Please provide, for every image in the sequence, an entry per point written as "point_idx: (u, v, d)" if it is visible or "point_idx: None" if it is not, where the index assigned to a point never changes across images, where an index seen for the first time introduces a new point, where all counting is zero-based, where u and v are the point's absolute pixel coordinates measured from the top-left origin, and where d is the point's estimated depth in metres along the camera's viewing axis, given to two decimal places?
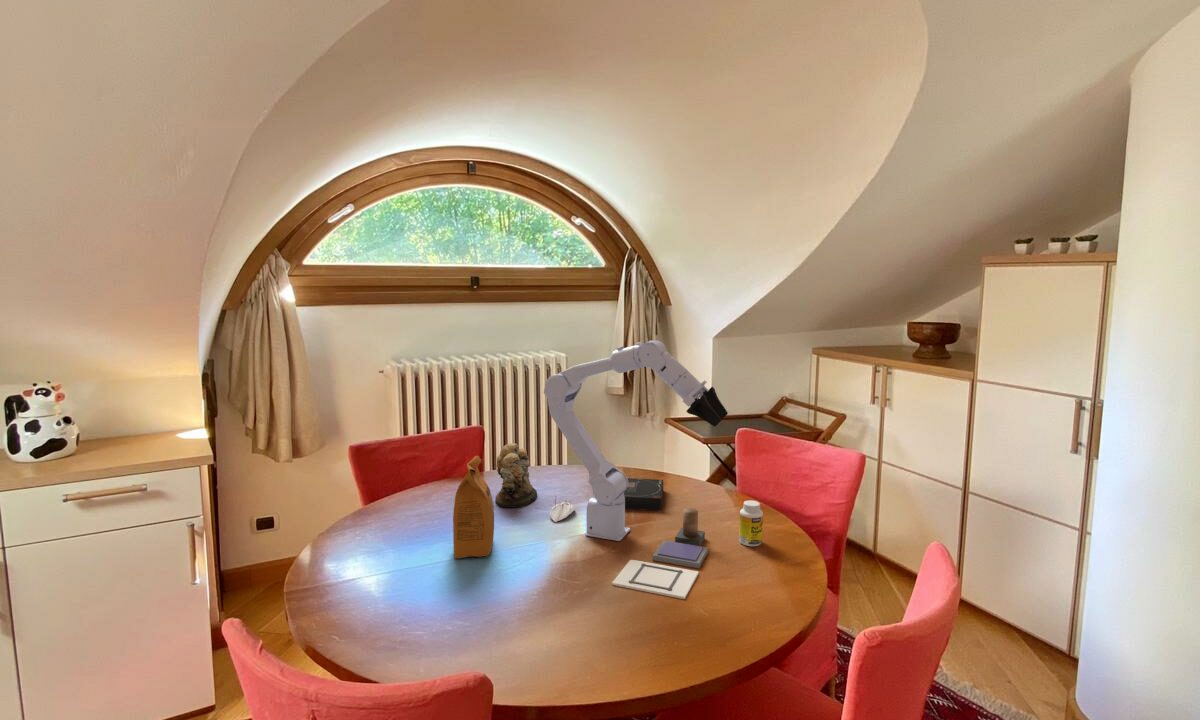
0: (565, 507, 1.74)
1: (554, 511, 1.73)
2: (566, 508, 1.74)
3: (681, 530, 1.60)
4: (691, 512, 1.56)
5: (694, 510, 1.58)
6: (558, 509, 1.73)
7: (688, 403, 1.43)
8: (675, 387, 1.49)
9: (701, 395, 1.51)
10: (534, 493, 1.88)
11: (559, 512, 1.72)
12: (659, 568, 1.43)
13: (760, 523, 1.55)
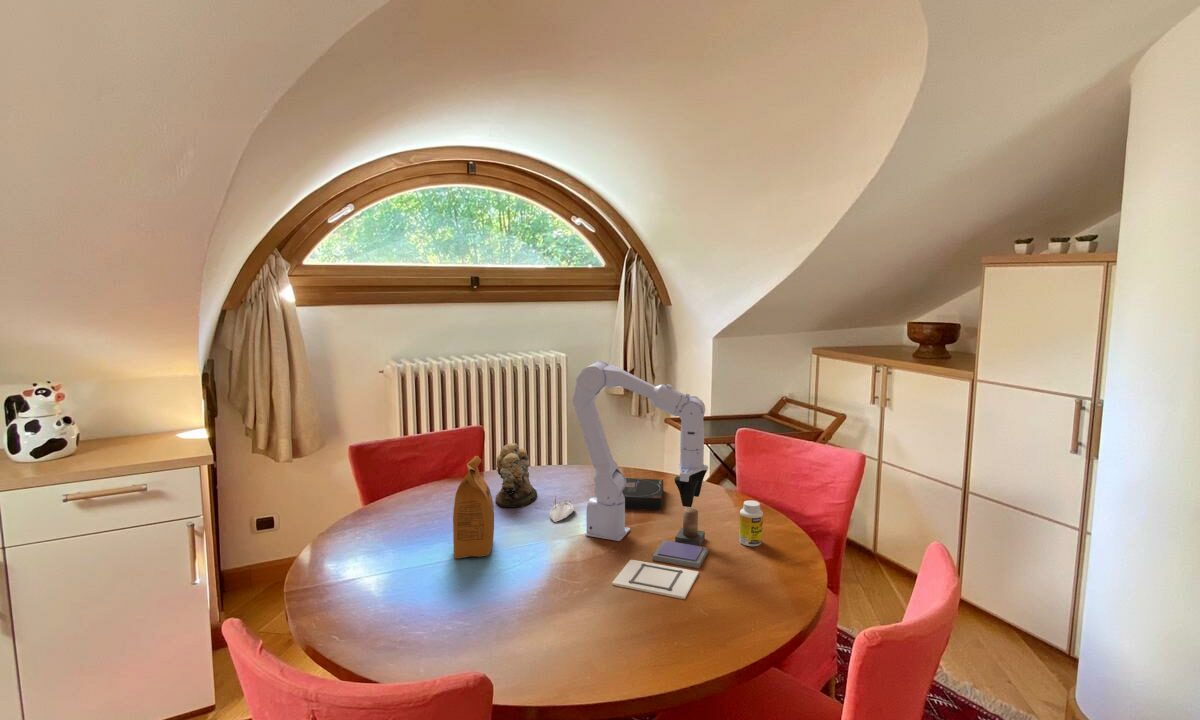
0: (565, 507, 1.74)
1: (554, 511, 1.73)
2: (566, 508, 1.74)
3: (681, 530, 1.60)
4: (691, 512, 1.56)
5: (694, 510, 1.58)
6: (558, 509, 1.73)
7: (682, 478, 1.49)
8: (683, 452, 1.53)
9: None
10: (534, 493, 1.88)
11: (559, 512, 1.72)
12: (659, 568, 1.43)
13: (760, 523, 1.55)
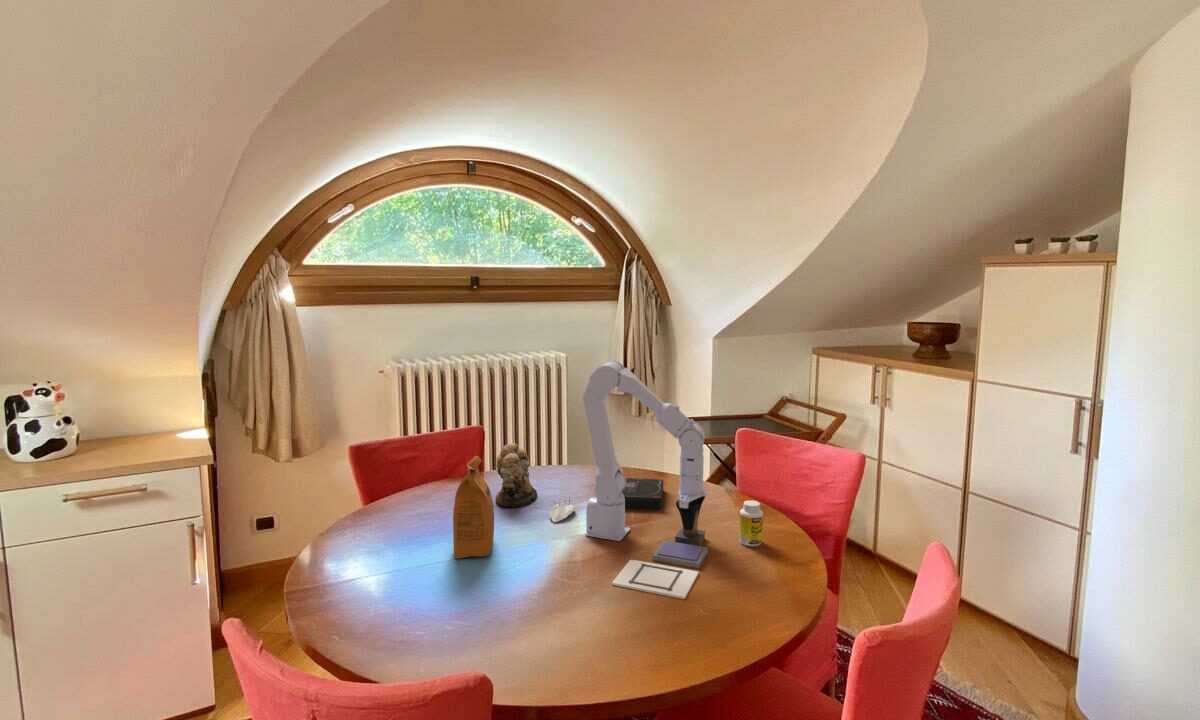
0: (565, 507, 1.74)
1: (554, 511, 1.73)
2: (566, 508, 1.73)
3: (681, 530, 1.60)
4: None
5: None
6: (558, 509, 1.73)
7: (681, 505, 1.50)
8: (683, 478, 1.54)
9: None
10: (534, 493, 1.88)
11: (559, 512, 1.72)
12: (659, 568, 1.43)
13: (760, 523, 1.55)
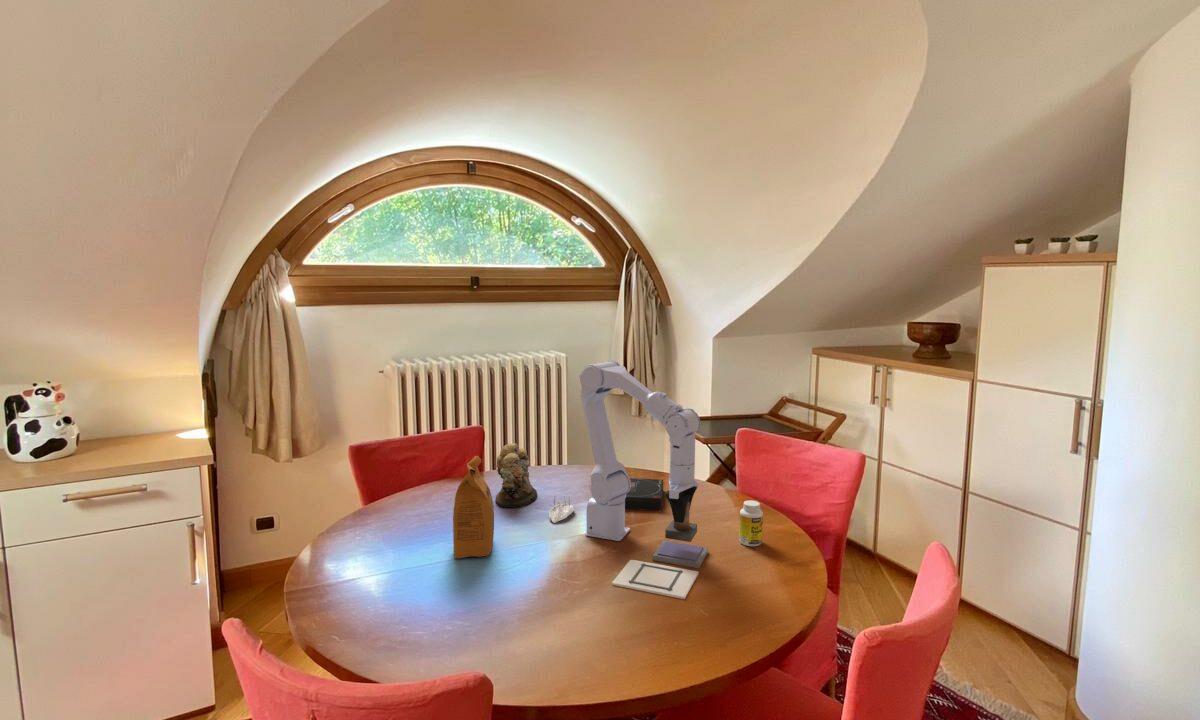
0: (564, 508, 1.73)
1: (553, 512, 1.72)
2: (565, 509, 1.73)
3: (672, 523, 1.51)
4: None
5: None
6: (557, 510, 1.72)
7: (671, 496, 1.41)
8: (673, 467, 1.45)
9: None
10: (534, 493, 1.88)
11: (558, 513, 1.71)
12: (659, 568, 1.43)
13: (760, 523, 1.55)
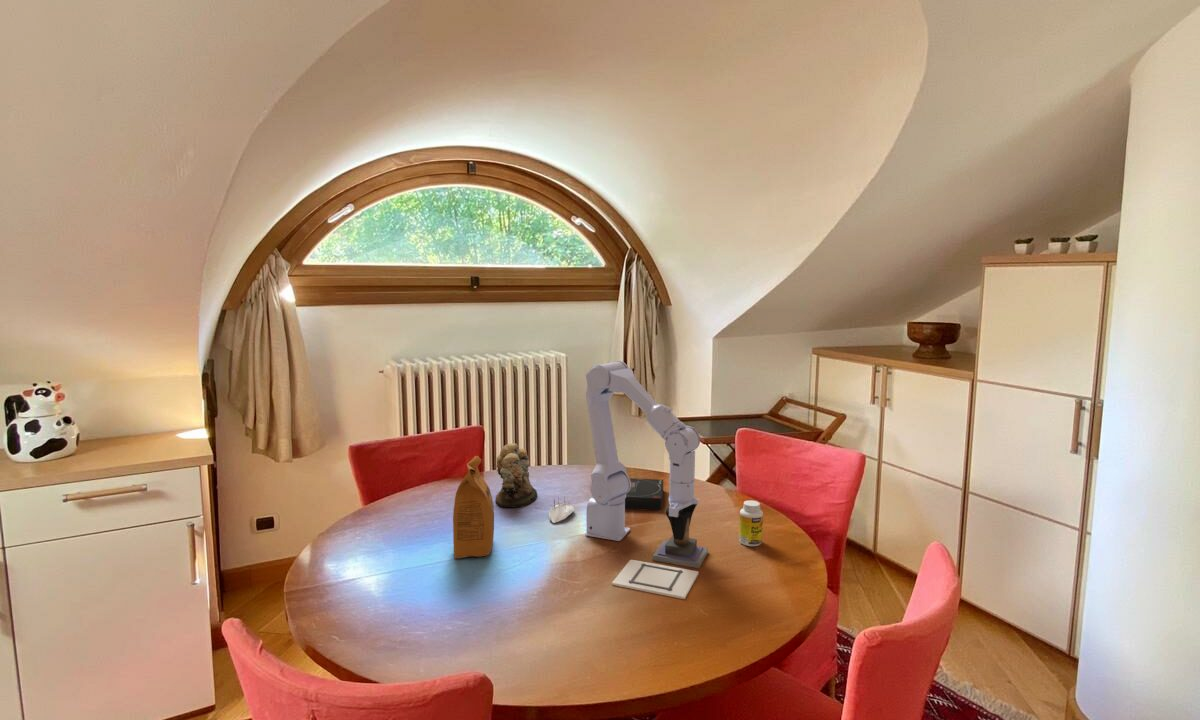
0: (564, 508, 1.73)
1: (553, 512, 1.72)
2: (565, 509, 1.73)
3: (672, 538, 1.52)
4: None
5: None
6: (557, 510, 1.72)
7: (671, 514, 1.42)
8: (673, 485, 1.46)
9: None
10: (534, 493, 1.88)
11: (558, 513, 1.71)
12: (659, 568, 1.43)
13: (760, 523, 1.55)
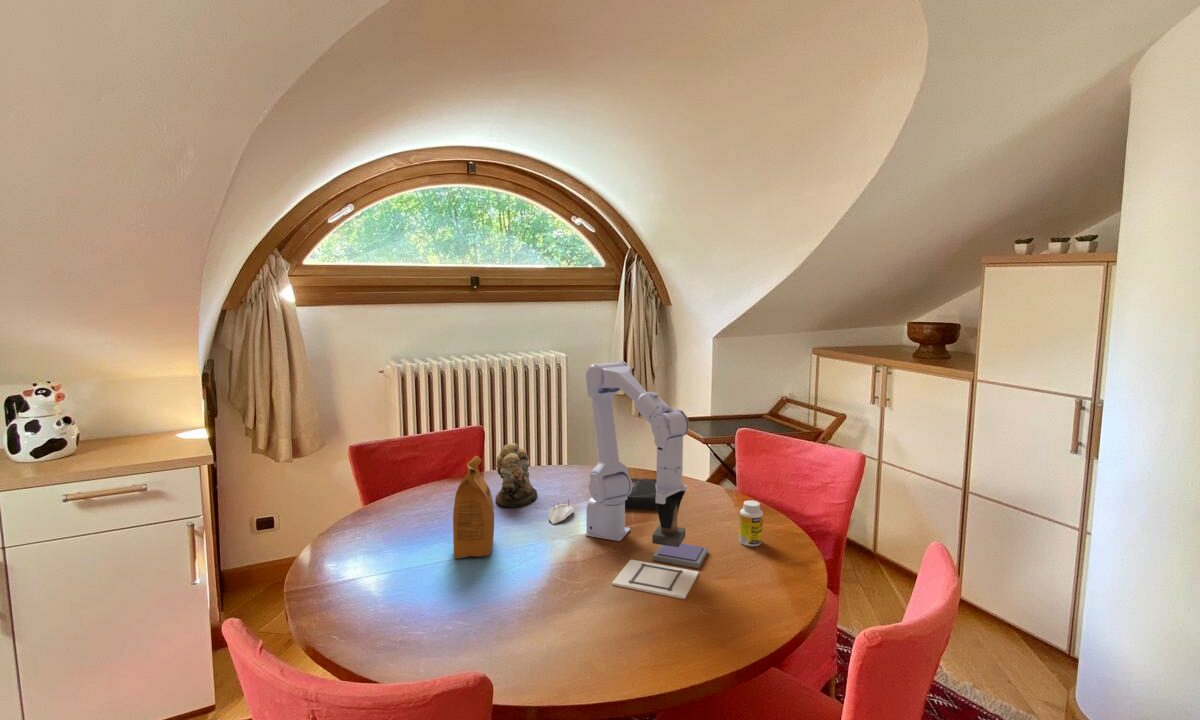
0: (564, 509, 1.73)
1: (553, 513, 1.72)
2: (565, 510, 1.73)
3: (659, 527, 1.45)
4: None
5: None
6: (557, 511, 1.72)
7: (658, 501, 1.35)
8: (660, 471, 1.39)
9: None
10: (534, 493, 1.88)
11: (558, 514, 1.71)
12: (659, 568, 1.43)
13: (760, 523, 1.55)
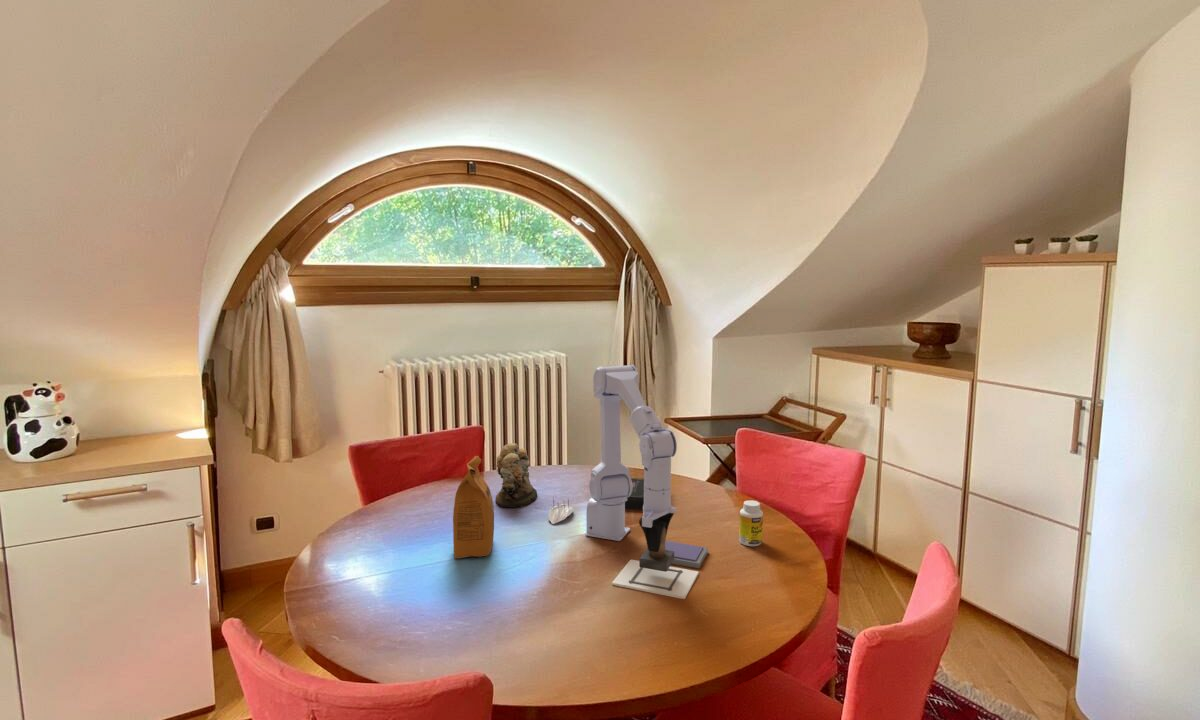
0: (563, 509, 1.73)
1: (552, 513, 1.71)
2: (564, 510, 1.72)
3: (647, 550, 1.40)
4: None
5: None
6: (556, 511, 1.71)
7: (644, 524, 1.30)
8: (647, 492, 1.34)
9: None
10: (534, 493, 1.88)
11: (557, 514, 1.70)
12: None
13: (760, 523, 1.55)
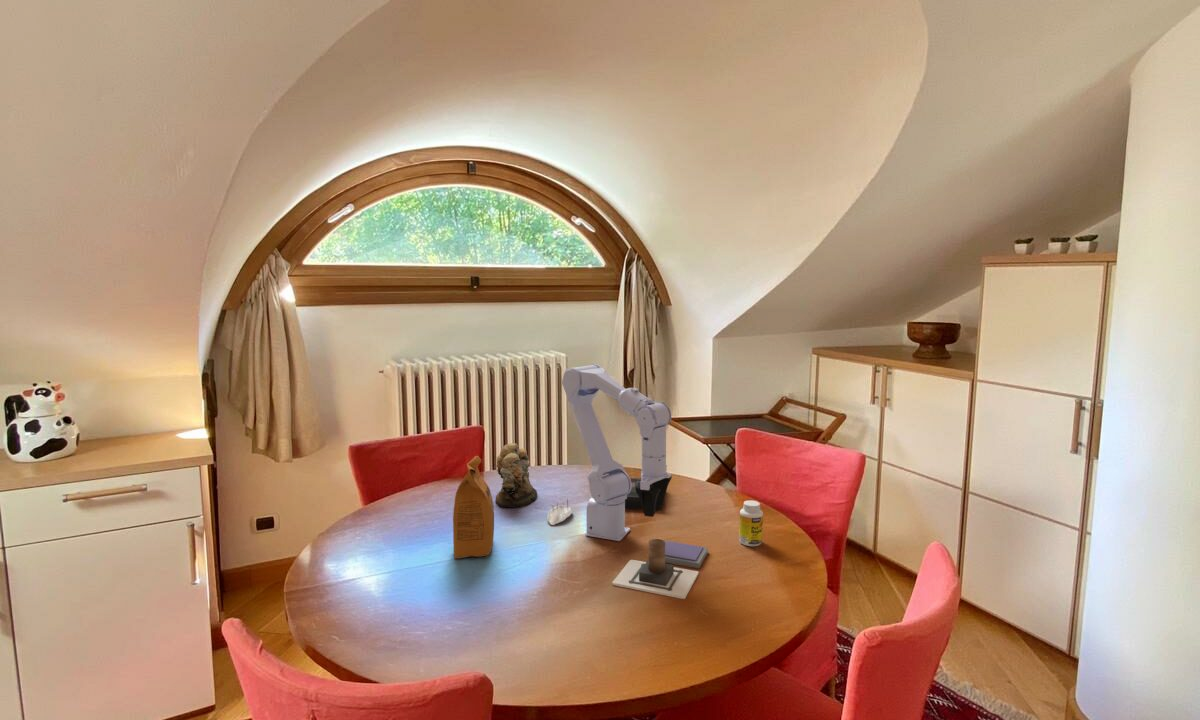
0: (563, 510, 1.72)
1: (551, 514, 1.71)
2: (564, 511, 1.72)
3: (647, 563, 1.41)
4: (657, 544, 1.37)
5: (661, 541, 1.38)
6: (555, 512, 1.71)
7: (642, 487, 1.43)
8: (645, 460, 1.47)
9: None
10: (534, 493, 1.88)
11: (556, 515, 1.70)
12: None
13: (760, 523, 1.55)
